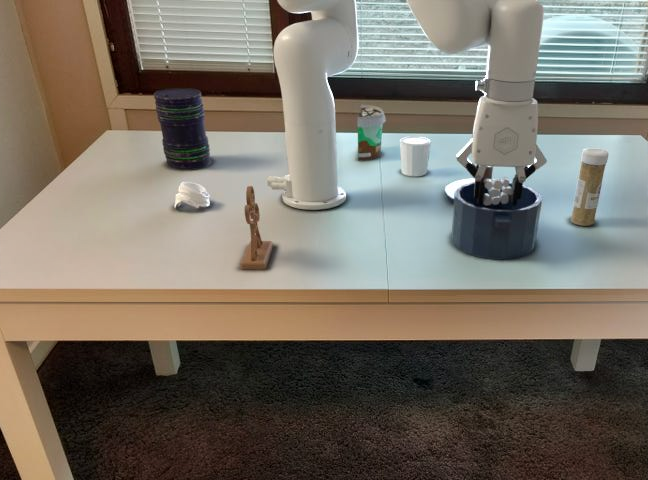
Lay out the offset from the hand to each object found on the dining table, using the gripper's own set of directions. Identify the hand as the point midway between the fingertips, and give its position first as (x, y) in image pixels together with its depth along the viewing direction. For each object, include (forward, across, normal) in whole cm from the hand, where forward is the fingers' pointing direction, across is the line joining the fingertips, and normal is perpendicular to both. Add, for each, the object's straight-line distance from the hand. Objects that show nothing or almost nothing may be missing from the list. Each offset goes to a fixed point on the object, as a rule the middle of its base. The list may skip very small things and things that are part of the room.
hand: (496, 201), depth 110 cm
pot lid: (+7, 0, +22) cm, 23 cm away
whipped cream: (+8, -57, +13) cm, 59 cm away
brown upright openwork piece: (+8, -40, -9) cm, 42 cm away
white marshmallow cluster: (+1, 0, 0) cm, 1 cm away
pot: (+7, 0, 0) cm, 7 cm away
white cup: (+8, -14, +36) cm, 39 cm away
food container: (+8, -24, +48) cm, 54 cm away
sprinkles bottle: (+8, +18, +10) cm, 22 cm away
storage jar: (+8, -65, +38) cm, 76 cm away
